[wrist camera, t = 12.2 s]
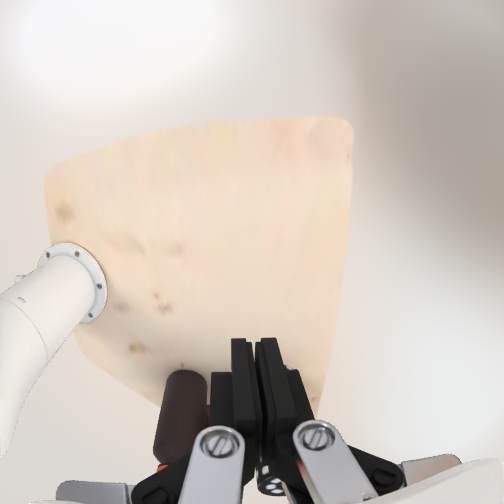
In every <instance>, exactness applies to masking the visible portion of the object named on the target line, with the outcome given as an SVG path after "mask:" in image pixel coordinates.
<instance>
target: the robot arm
mask: <svg viewBox="0 0 504 504" xmlns="http://www.w3.org/2000/svg"><path fill="white" fill-rule="evenodd" d="M106 300H107V285H106V280H105V277H104V274H103V272H102V270H101V268H100V266H99V264H98V263H97V262H96V260H95V259H94V258H93V257H92V256H91V255H90V253H88V252H87V251H86V250H85V249H83V248H81V247H80V246H78V245H75V244H72V243H65V242H62V243H57V244H55V245H53V246H51V247H50V248H48V249H47V250H46V251H45V252H44V253H43V254H42V256H41V258H40V260H39V263H38V268H37V269H35V270H34V271H32V272H31V273H29V274H28V275H17V276H16V278H15V284H14V285H13V286H11V287H10V288H8V289H7V290H6V291H4V292H3V293H2V294H1V295H0V459H1V458H2V457H3V455H4V454H5V453H6V451H7V449H8V447H9V445H10V443H11V440H12V437H13V434H14V430H15V427H16V424H17V421H18V417H19V414H20V411H21V409H22V406H23V404H24V402H25V399H26V397H27V396H28V394H29V392H30V390H31V388H32V387H33V385H34V384H35V382H36V381H37V379H38V377H39V376H40V375H41V373H42V372H43V370H44V369H45V368H46V366H47V365H48V363H49V362H50V361H51V359H52V358H53V356H54V355H55V354H56V352H57V351H58V350H59V348H60V347H61V346H62V344H63V343H64V342H65V340H66V339H67V338H68V337H69V335H70V334H71V333H72V331H73V330H74V329H75V328H76V326H77V325H78V324H79V323H86V322H90V321H92V320H93V319H95V318H96V317H97V316H98V315H99V314H100V313H101V312H102V310H103V308H104V306H105V304H106ZM231 369H232V372H212V373H211V394H210V423H209V427H208V428H206V429H204V430H202V431H201V432H200V433H199V434H198V435H197V437H196V439H195V442H194V446H193V450H192V451H190V452H189V453H187V454H185V455H184V456H182V457H181V458H179V459H178V460H176V461H175V462H173V463H171V464H170V465H168V466H166V467H165V468H163V469H162V470H160V471H158V472H157V473H155V474H153V475H151V476H150V477H148V478H146V479H144V480H143V481H141V482H139V483H138V484H137V485H126V484H125V483H103V482H86V481H74V480H72V481H65V482H63V483H61V484H60V485H59V487H58V488H57V491H56V500H43V501H35V502H31V503H29V504H242V499H243V490H244V486H245V485H246V484H247V483H248V482H249V481H251V480H252V479H253V478H254V472H255V466H258V462H259V452H260V453H261V460H262V466H268V470H269V473H273V476H274V477H276V478H277V479H279V480H281V482H282V486H283V489H284V491H285V494H286V496H287V499H288V501H289V504H504V461H503V460H499V459H481V460H480V459H479V460H474V461H470V462H466V463H463V464H462V463H461V461H460V459H459V458H458V457H456V456H455V455H452V454H443V455H438V456H433V457H428V458H423V459H417V460H410V461H403V462H402V463H401V464H398V465H396V464H394V463H392V462H390V461H387V460H385V459H382V458H379V457H376V456H374V455H371V454H369V453H366V452H364V451H361V450H359V449H357V448H354V447H352V446H349V445H347V444H346V443H345V442H344V440H343V439H342V436H341V435H340V433H339V432H338V430H337V429H336V428H335V427H334V426H333V425H332V424H330V423H328V422H325V421H322V420H315V418H314V415H313V412H312V409H311V406H310V403H309V400H308V397H307V394H306V391H305V388H304V386H303V383H302V380H301V377H300V374H299V371H298V370H297V369H295V370H285V368H284V365H283V361H282V357H281V354H280V350H279V347H278V343H277V340H276V338H261V342H256V343H255V362H254V356H253V349H252V342H246V338H231Z"/></svg>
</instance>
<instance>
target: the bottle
mask: <svg viewBox="0 0 504 504" xmlns="http://www.w3.org/2000/svg"><path fill="white" fill-rule="evenodd" d="M206 406H207V383H206V381H205V379H204V378H203V377H202V376H200V375H199V374H197V373H195V372H192V371H187V370H181V371H177V372H174V373H172V374H171V375H170V376H169V378H168V379H167V383H166V387H165V392H164V397H163V401H162V406H161V411H160V415H159V420H158V425H157V430H156V435H155V440H154V446H153V454H154V456H155V457H156V458H157V460H158V461H159V462H160V463H161V464H159V466H158V469H157V472H158V471H160V470H162V469H163V468H165V467H166V466H168V465H170V464H171V463H173V462H175V461H176V460H178V459H179V458H181V457H182V456H184V455H185V454H187V453H189V452H190V451H192V450H193V446H194V442H195V439H196V437H197V435H198V434H199V433H200V432H201V431H202V430H204V429H205V427H206Z"/></svg>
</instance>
